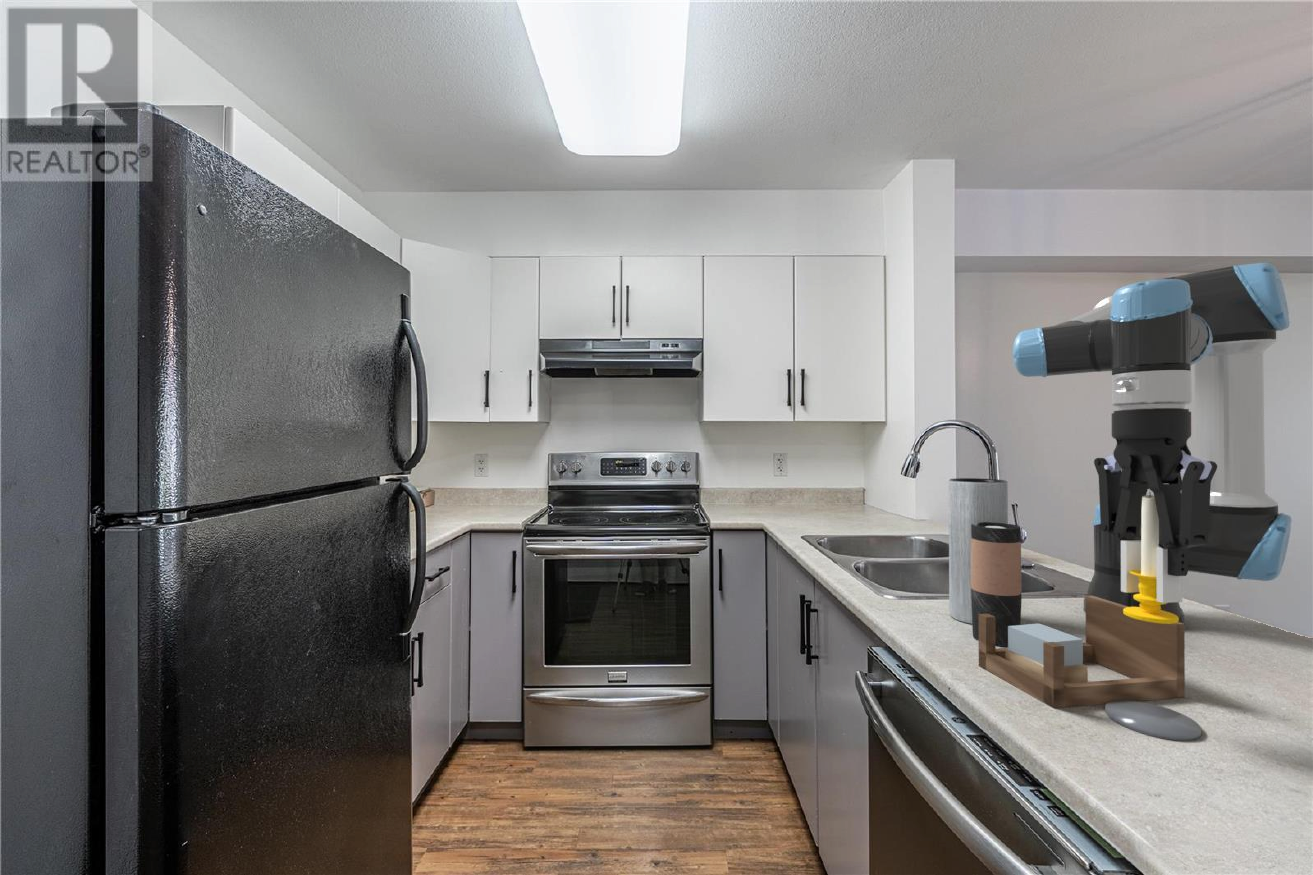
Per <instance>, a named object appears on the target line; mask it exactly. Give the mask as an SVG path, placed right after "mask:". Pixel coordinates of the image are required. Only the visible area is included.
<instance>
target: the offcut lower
mask: <svg viewBox="0 0 1313 875" xmlns="http://www.w3.org/2000/svg"><path fill="white" fill-rule="evenodd" d="M1005 648H1006V660H1008V661H1010V662H1012V663H1013V664H1015V665H1017V666H1019V667H1021V668H1023V669H1025V670H1027V671H1029V672H1031V673H1033V674H1035V675H1037V676H1039V677H1041V678H1043V679H1044V671H1043V665H1042V664H1039V663H1037V662H1035V661H1033V660H1030V659H1028V658H1026V657H1024V656H1021V655H1019V654H1017V653H1015V652H1012V651H1010V650H1008V647H1005ZM1088 669H1089V668H1088V665H1085V664H1084V663H1083V664H1081V665H1072V666H1064V684H1065V683H1079V682H1089V681H1088V680H1089V679H1088V678H1089V674H1088V673H1089V670H1088Z"/></svg>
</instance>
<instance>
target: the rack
mask: <svg viewBox="0 0 1313 875" xmlns="http://www.w3.org/2000/svg"><path fill="white" fill-rule="evenodd" d="M1085 596H1086V595H1085ZM1126 607H1128V606H1125V605H1121V604H1118V603H1115V602H1111V601H1108V600H1105V599H1102V598H1098V597H1095V596H1086V612H1085V642H1083V663H1089V662H1090V663H1092V662H1093V663H1094V664H1098V665H1099V666H1102V667H1104V668H1107V669H1109V670H1111V671H1113V672H1116V673H1119V674H1121V675H1123V676H1124V677H1128V678H1122V679H1108V680H1106V679H1105V680H1095V681H1088V682H1079V683H1065V684H1064V646H1063V645H1060V644H1058V643H1056V642H1043V671H1044V679H1043V678H1041V677H1039V676H1037V675H1035V674H1033V673H1031V672H1029V671H1027V670H1025V669H1023V668H1021V667H1019V666H1017V665H1015V664H1013V663H1012V662H1010V661H1008V660H1006V648H1007V647H1003V648H1002V647H1000V648H996V647H997V646H996V644H995V617H994V616H992V615H990V614H979V641H978V666H979V667H980V668H982V669H983V670H985V671H987V672H989V673H991V674H993V675H994V676H996V677H998V678H999V679H1001V680H1003V681H1005V682H1006V683H1008V684H1010V685H1012V686H1013V687H1016V688H1018V689H1019V690H1021V691H1023V692H1024V693H1026V694H1028V695H1030V696H1032V697H1033V698H1035V699H1037V700H1039V701H1040V702H1042V703H1044V704H1046V705H1048V706H1049V707H1051V708H1052V709H1057V708H1070V707H1082V706H1094V705H1106V704H1107V703H1108V702H1111V701H1116V700H1130V701H1139V702H1145V701H1154V700H1155V701H1157V700H1158V701H1159V700H1169V699H1170V700H1171V699H1182V698H1185V697H1186V696H1185V695H1186V693H1185V692H1186V690H1185V689H1186V688H1185V687H1186V686H1185V685H1186V683H1185V682H1186V681H1185V680H1186V678H1185V674H1186V673H1185V671H1186V669H1185V667H1186V666H1185V665H1186V664H1185V658H1186V657H1185V654H1186V653H1185V650H1186V649H1185V642H1186V641H1185V622H1184V623H1180V622H1177V623H1172V624H1163V623H1153V622H1147V621H1142V620H1138V619H1134V618H1131V617H1128V616H1126V615H1125V614H1124V613H1123V609H1124V608H1126Z"/></svg>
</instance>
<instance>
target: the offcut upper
mask: <svg viewBox="0 0 1313 875" xmlns="http://www.w3.org/2000/svg"><path fill="white" fill-rule="evenodd" d="M1043 642H1056V643H1058V644H1060V645H1063V646H1064V666H1072V665H1081V664H1083V665H1084V662H1083V643H1084V639H1083V638H1080V637H1077V636H1075V635H1073V634H1069V633H1066V632H1064V631H1062V630H1059V629H1056V628H1054V627H1050V626H1047V625H1045V624H1042V623H1028V624H1021V625H1016V626H1008V647H1007V648H1008V650H1010V651H1012V652H1015V653H1017V654H1019V655H1021V656H1024V657H1026V658H1028V659H1030V660H1033V661H1035V662H1037V663H1039V664H1042V665H1043Z"/></svg>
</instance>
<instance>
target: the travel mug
mask: <svg viewBox="0 0 1313 875" xmlns="http://www.w3.org/2000/svg"><path fill="white" fill-rule="evenodd" d="M1021 531H1022V530H1021V526H1019V525H1017V524H1012V523H1008V524H1006V523H994V522H980V523H978V524H977V525H973V524H971V604H972V624H971V627H972V637H973V638H974V639H975V640H977V641H978V642H979V614H990V615H992V616H994V617H995V644H996V647H1003V648H1008V626H1016V625H1022V624H1021V623H1022V592H1023V591H1022V590H1023V589H1022V587H1023V584H1022V537H1021V536H1022V532H1021Z"/></svg>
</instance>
